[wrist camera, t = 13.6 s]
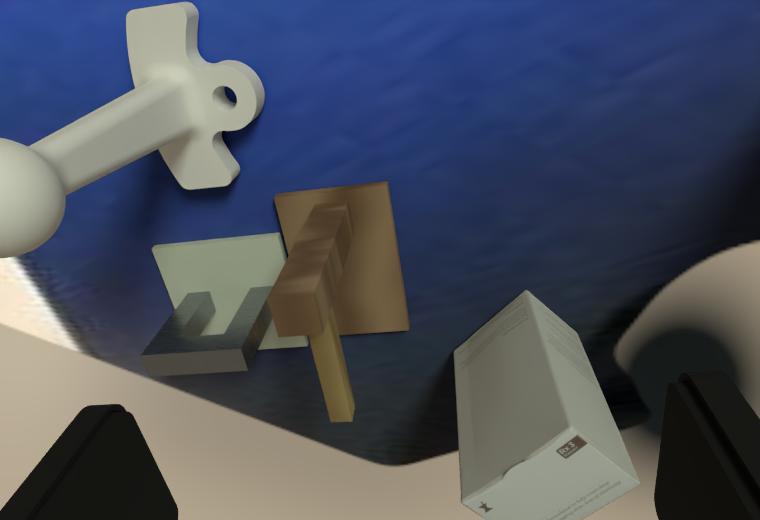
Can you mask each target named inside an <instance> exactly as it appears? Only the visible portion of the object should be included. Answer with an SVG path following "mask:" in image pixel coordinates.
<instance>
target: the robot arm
mask: <svg viewBox="0 0 760 520" xmlns="http://www.w3.org/2000/svg"><path fill="white" fill-rule="evenodd" d="M654 501H655V508H656V512H657V516H658V519H659V520H760V419H759V418H758V416H757V415H756V414H755V412H754V411H753V409H752V408H751V407H750V405H749V404H748V402H747V401H746V400H745V398H744V397H743V395H742V394H741V393H740V391H739V390H738V388H737V387H736V386H735V384H734V383H733V381H732V380H731V379H730V377H729V376H728V375H727V374H726V373H724V372H722V371H714V372H694V373H683V374H681V376H680V377H679V381H678V383H670V384H669V386H668V389H667V397H666V405H665V413H664V421H663V429H662V437H661V445H660V453H659V462H658V469H657V477H656V485H655V494H654ZM0 520H178V508H177V505H176V503H175V501H174V499H173V497H172V495H171V493H170V490H169V488H168V486H167V484H166V482H165V480H164V478H163V476H162V474H161V472H160V470H159V468H158V466H157V464H156V462H155V460H154V458H153V456H152V453H151V451H150V449H149V447H148V445H147V443H146V441H145V439H144V437H143V435H142V433H141V431H140V429H139V427H138V425H137V423H136V420H135V418H134V416H133V415H132V414H131V413H130V412H127V411H126V410H125V408H124V407H123V406H121V405H119V404H109V405H91V406H87V407H85V408H83V409H82V410H81V411H80V412H79V413H78V415H77V416H76V417H75V418H74V420H73V421H72V422H71V423H70V425H69V426H68V427H67V428H66V429H65V431H64V432H63V433H62V435H61V436H60V437H59V438H58V439H57V441H56V442H55V443H54V444H53V446H52V447H51V448H50V449H49V451H48V452H47V453H46V455H45V456H44V457H43V458H42V460H41V461H40V462H39V463H38V465H37V466H36V467H35V468H34V470H33V471H32V472H31V473H30V474H29V476H28V477H27V478H26V480H25V481H24V482H23V483H22V484H21V486H20V487H19V488H18V489H17V491H16V492H15V493H14V494H13V496H12V497H11V498H10V499H9V501H8V502H7V503H6V504H5V506H4V507H3V508H2V509H1V511H0Z"/></svg>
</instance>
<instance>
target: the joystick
mask: <svg viewBox="0 0 760 520" xmlns="http://www.w3.org/2000/svg"><path fill="white" fill-rule="evenodd" d="M198 19H199V13H198V10H197V8H196V7H195V6H194V5H193V4H192V3H190V2H181V3H173V4H167V5H160V6H154V7H148V8H141V9H135V10H131V11H129V12H128V14H127V16H126V32H127V45H128V54H129V61H130V67H131V72H132V77H133V82H134V86H135V89H134V90H132V91H130V92H128V93H126V94H124V95H123V96H121V97H119V98H117V99H115V100H113V101H112V102H110V103H108V104H106V105H104V106H102V107H100V108H99V109H97V110H95V111H93V112H91V113H89V114H88V115H86V116H84V117H82V118H80V119H78V120H77V121H75V122H73V123H71V124H69V125H67V126H66V127H64V128H62V129H60V130H58V131H56V132H55V133H53V134H51V135H49V136H47V137H45V138H43V139H42V140H40V141H38V142H36V143H34V144H32V145H31V146H29V147H27V146H25V145H23V144H20V143H17V142H15V141H11V140H7V139H2V138H0V258H7V257H13V256H18V255H21V254H24V253H27V252H29V251H32V250H34V249H36V248H37V247H39V246H40V245H42V244H43V243H45V242H46V241H47V240H48V239H49V238H50V237H51V236H52V235H53V234H54V233H55V231H56V230H57V228H58V227H59V225H60V223H61V221H62V218H63V215H64V211H65V196H66V195H68V194H70V193H72V192H74V191H76V190H77V189H79V188H81V187H83V186H85V185H87V184H89V183H91V182H93V181H95V180H97V179H99V178H101V177H103V176H105V175H107V174H109V173H111V172H113V171H115V170H117V169H119V168H121V167H123V166H125V165H127V164H129V163H131V162H133V161H135V160H137V159H139V158H141V157H143V156H145V155H147V154H149V153H151V152H153V151H155V150H157V149H158V150H159V152H160V153H161V155H162V157H163V159H164V161H165V162H166V164H167V166H168V167H169V169H170V170H171V172H172V174H173V175H174V177H175V178H176V179H177V181H178V182H179V184H180V185H181V186H182V187H183V188H185V189H188V190H192V189H201V188H211V187H221V186H227V185H228V184H230V183H231V182H232V180H233V179H234V178H235V177H236V176H237V175H238V174H239V172H240V166H239V164H238V163H237V161H236V160H235V159H234V157H233V156H232V154H231V153H230V151H229V150H228V148H227V146H226V145H225V143H224V141H223V139H222V131H235V130H239V129H241V128H243V127H245V126H246V125H247V124H249V123H250V122H251V121H252V120H254V119H255V118H256V117H257V116H258V115H259V113H260V112H261V110H262V108H263V105H264V99H265V95H264V88H263V85H262V83H261V80H260V79H259V77H258V76H257V74H256V73H255V72H254V71H253V70H252V69H251V68H250V67H248V66H247V65H245V64H243V63H241V62H238V61H234V60H225V61H221V62H219V63H214V64H213V63H209V62H206V61H205V60H204V59H203V58H202V57H201V56H200V54H199V52H198V48H197V32H198ZM225 86H227V87H229V88H231V89H232V90H233V91H234V93H235V94H236V97H237V104H236V103H233V102H231V101H230V100H229V99H228V98H227V97H226V94H225Z"/></svg>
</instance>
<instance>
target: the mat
mask: <svg viewBox="0 0 760 520" xmlns="http://www.w3.org/2000/svg"><path fill="white" fill-rule="evenodd" d="M152 252H153V254H154V257H155V259H156V262H157V265H158V267H159V270H160V272H161V275H162V277H163V280H164V283H165V285H166V288H167V290H168V293H169V295H170V298H171V300H172V303H173V306H174V308H175V309H176V308H177V307H178V305H179V304H180V303H181V302H182V300H183V299H184V298H185V296H186V295H187V294H188V293H195V292H206V291H210V294H211V297H212V300H213V303H214V306H215V309H216V311H215V313H214V314H213V316H212V318H211V319H210V321H209V322H208V324H207V325H206V327H205V328H204V330H203V332H202V333H201V335H200V336H202V335H216V334H224V333H225V331H226V330H227V328H228V326H229V324H230V323H231V321H232V319H233V317H234V316H235V314H236V312H237V311H238V309H239V307H240V305H241V304H242V302H243V300H244V298H245V297H246V295H247V293H248V292H249V290H250V288H253V287H265V286H274V284H275V282H276V280H277V278H278V276H279V274H280V272H281V270H282V268H283V266H284V264H285V262H286V260H287V257H286V254H285V250H284V246H283V242H282V238H281V234H280V233H270V234H260V235H250V236H241V237H231V238H221V239H211V240H201V241H192V242H182V243H172V244H162V245H155V246H154V247H153V248H152ZM308 342H309V341H308V338H307V335H306V336H292V337H278V334H277V331H276V328H275V324H274V321H273V318H272V321H271V323H270V325H269V327H268V329H267V331H266V333H265V336H264V338H263V340H262V342H261V344H260V346H259V348H258V350H259V349H274V348H289V347H303V346H307V345H308Z"/></svg>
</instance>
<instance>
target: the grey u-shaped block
mask: <svg viewBox="0 0 760 520" xmlns="http://www.w3.org/2000/svg"><path fill="white" fill-rule="evenodd" d="M272 288H273V286H265V287H253V288H250V290H249V292H248V293H247V295H246V297H245V298H244V300H243V302H242V304H241V305H240V307H239V309H238V311H237V312H236V314H235V316H234V317H233V319H232V321H231V323H230V324H229V326H228V328H227V330H226V331H225V333H224V334H216V335H202V336H200V335H201V333H202V332H203V330H204V328H205V327H206V325H207V324H208V322H209V321H210V319H211V318H212V316H213V314H214V313H215V311H216V309H215V306H214V303H213V300H212V297H211V294H210V291H206V292H195V293H188V294H187V295H186V296H185V298H184V299H183V300H182V302H181V303H180V304H179V305H178V307H177V308H176V309H175V311H174V312H173V313H172V315H171V316H170V317H169V319H168V320H167V321H166V323H165V324H164V325H163V326H162V328H161V329H160V330H159V332H158V333H157V334H156V336H155V337H154V338H153V340H152V341H151V342H150V344H149V345H148V346H147V347H146V349H145V350H144V351H143V353H142V354H141V355H140V356H141V358H142V360H143V363H144V365H145V367H146V369H147V372H148V374H149V376H150V377H154V376H170V375H187V374H203V373H219V372H235V371H248V370H249V368H250V366H251V364H252V361H253V359H254V357H255V355H256V353H257V351H258V348H259V346H260V344H261V342H262V340H263V338H264V336H265V333H266V331H267V329H268V327H269V325H270V323H271V321H272V318H273V317H272V314H271V310H270V307H269V304H268V300H267V297H268V295H269V294H270V292H271V290H272Z"/></svg>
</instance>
